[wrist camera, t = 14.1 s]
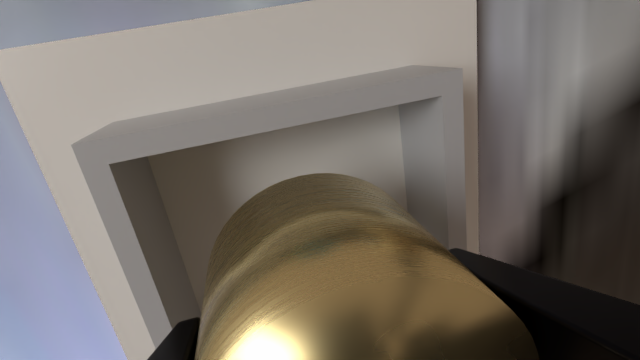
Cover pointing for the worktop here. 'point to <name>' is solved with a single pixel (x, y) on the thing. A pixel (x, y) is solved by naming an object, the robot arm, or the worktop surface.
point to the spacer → (345, 283)
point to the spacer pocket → (244, 133)
